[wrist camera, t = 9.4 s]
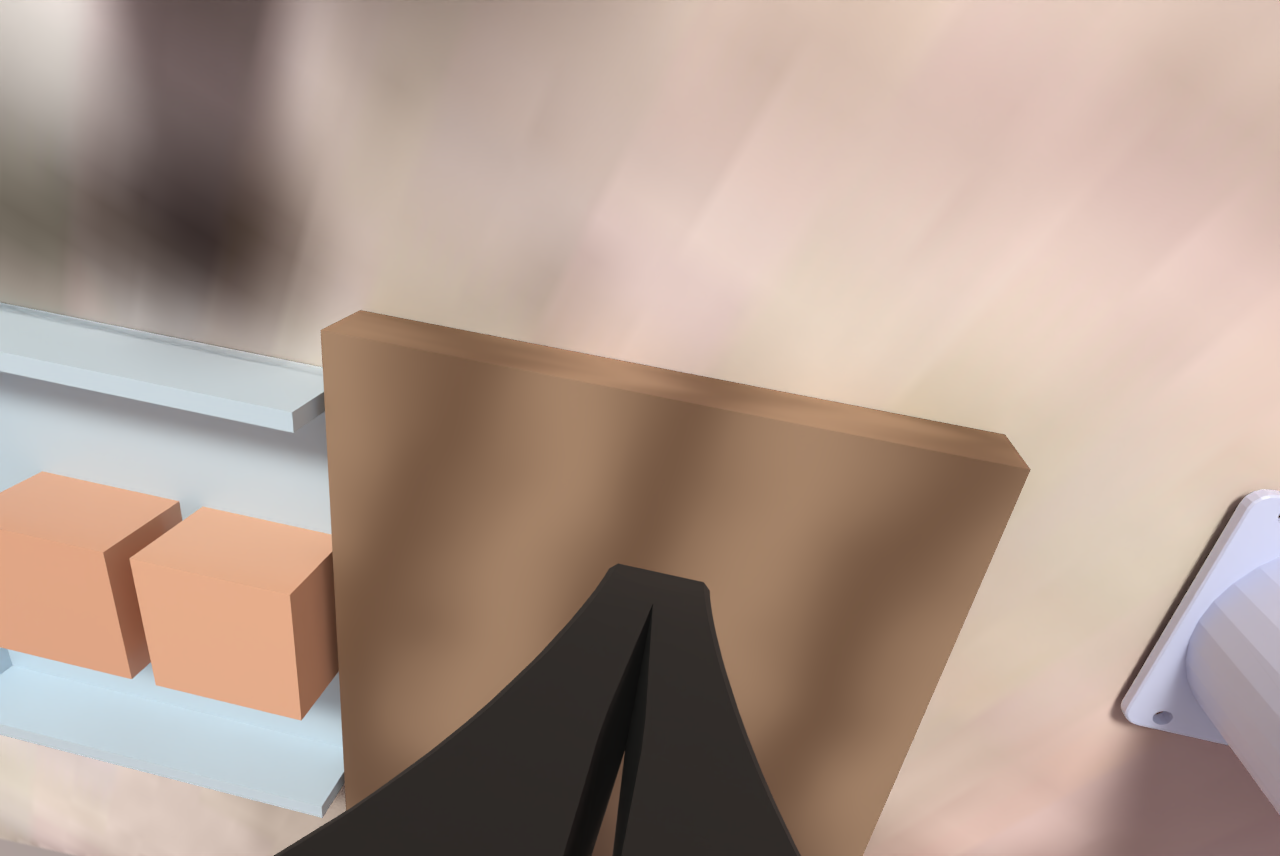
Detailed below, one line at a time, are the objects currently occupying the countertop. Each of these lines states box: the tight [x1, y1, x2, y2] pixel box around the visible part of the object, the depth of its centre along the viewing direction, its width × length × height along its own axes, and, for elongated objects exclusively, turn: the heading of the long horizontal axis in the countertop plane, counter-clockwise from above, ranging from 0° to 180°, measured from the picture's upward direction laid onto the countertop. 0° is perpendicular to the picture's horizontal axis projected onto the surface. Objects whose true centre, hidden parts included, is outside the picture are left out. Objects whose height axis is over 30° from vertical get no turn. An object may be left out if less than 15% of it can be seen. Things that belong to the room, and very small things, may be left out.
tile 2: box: [129, 507, 339, 721], centre depth 23 cm, size 5×5×3 cm
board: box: [321, 310, 1030, 856], centre depth 23 cm, size 18×20×2 cm
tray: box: [0, 302, 345, 818], centre depth 24 cm, size 15×16×3 cm
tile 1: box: [0, 471, 182, 679], centre depth 23 cm, size 5×5×3 cm
